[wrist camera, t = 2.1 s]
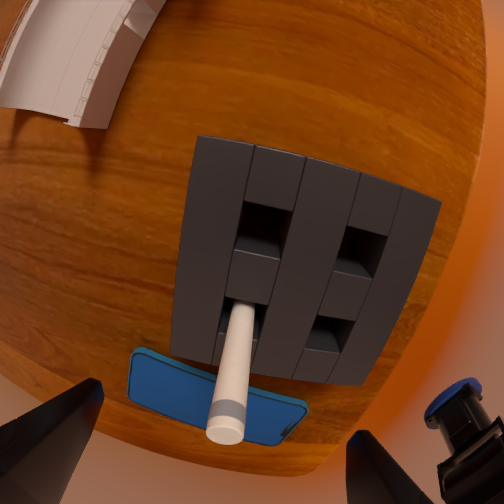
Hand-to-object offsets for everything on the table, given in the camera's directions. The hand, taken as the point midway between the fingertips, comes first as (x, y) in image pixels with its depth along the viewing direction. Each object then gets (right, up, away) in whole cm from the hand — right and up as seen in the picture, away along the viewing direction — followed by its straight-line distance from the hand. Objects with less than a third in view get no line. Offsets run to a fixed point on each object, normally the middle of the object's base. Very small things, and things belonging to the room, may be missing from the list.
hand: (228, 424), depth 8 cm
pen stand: (+3, +5, +9) cm, 11 cm away
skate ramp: (-9, +21, +4) cm, 24 cm away
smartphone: (-3, -7, +14) cm, 16 cm away
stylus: (0, +4, +10) cm, 11 cm away
